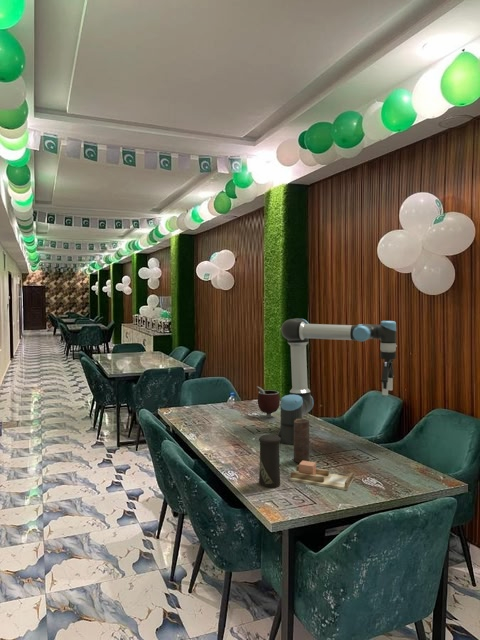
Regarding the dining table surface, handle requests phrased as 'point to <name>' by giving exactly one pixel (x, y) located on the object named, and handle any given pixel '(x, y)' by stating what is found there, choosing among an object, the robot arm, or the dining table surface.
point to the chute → (323, 479)
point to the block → (307, 467)
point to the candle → (301, 440)
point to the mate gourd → (268, 404)
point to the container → (269, 461)
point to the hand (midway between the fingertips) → (387, 392)
